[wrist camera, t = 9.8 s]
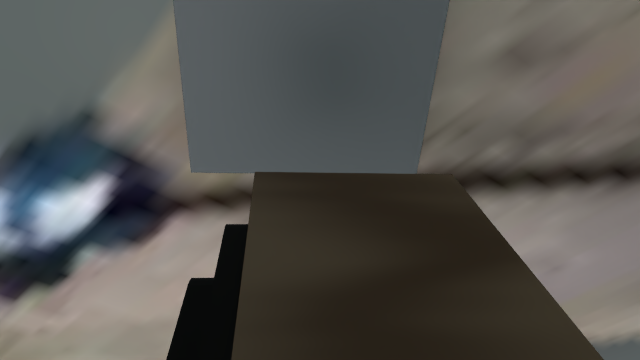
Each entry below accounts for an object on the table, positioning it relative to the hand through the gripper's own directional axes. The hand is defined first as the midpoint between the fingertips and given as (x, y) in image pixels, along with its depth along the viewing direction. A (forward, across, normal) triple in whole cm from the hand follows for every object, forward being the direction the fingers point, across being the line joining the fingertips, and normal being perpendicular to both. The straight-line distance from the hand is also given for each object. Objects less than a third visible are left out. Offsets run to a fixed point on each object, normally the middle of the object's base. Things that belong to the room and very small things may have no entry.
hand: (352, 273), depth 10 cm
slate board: (+19, 0, 0) cm, 19 cm away
